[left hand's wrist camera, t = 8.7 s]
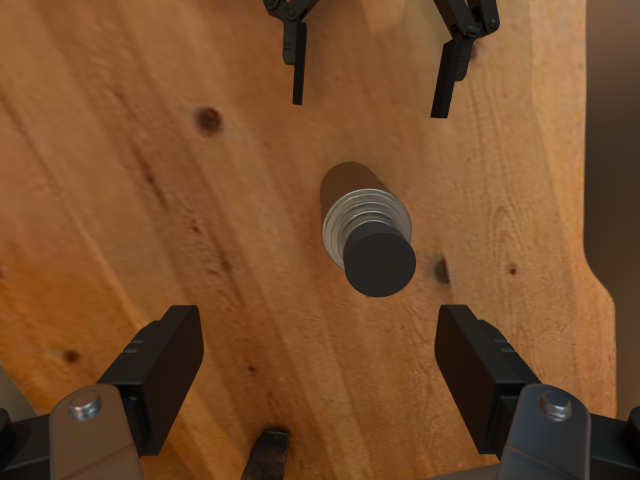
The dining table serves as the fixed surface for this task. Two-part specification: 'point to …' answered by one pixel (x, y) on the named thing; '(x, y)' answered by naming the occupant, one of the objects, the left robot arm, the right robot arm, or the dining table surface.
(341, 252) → the bottle
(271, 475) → the decorative rock
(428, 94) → the dining table surface
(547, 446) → the left robot arm
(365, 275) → the cap
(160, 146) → the dining table surface
